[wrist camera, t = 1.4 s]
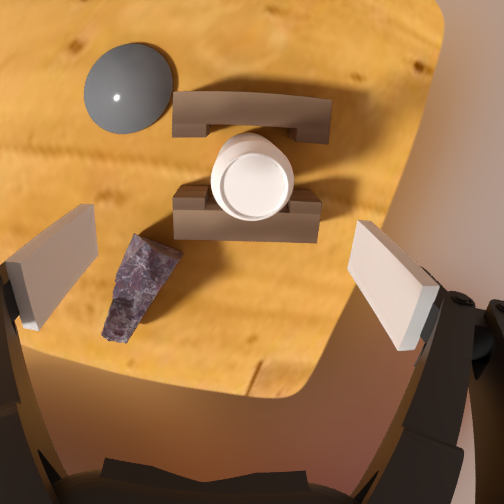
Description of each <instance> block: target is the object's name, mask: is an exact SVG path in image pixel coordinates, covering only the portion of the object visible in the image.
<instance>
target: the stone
mask: <svg viewBox="0 0 504 504" xmlns="http://www.w3.org/2000/svg"><path fill="white" fill-rule="evenodd" d="M182 255H183V253H182V252H181V251H179V250H175V249H173V248H170V247H168V246H165V245H162V244H161V243H159V242H156V241H152V240H150V239H147V238H143V237H140V236H138V235H137V234H135V233H134V235H133V237H132V240H131V242H130V244H129V246H128V248H127V250H126V253H125V255H124V258H123V260H122V263H121V265H120V267H119V269H118V272H117V275H116V279H115V282H116V285H115V287H114V290H113V301H112V303H111V306H110V308H109V312H108V316H107V318H106V321H105V323H104V328H103V331H102V334H101V335H102V336H103V337H104V338H106V339H107V340H108V341H116V342H119V343H122V342H124V343H125V344H126V343H127V342H128V340H129V338H130V337H131V336H132V334H133V333H134V331H135V329H136V328H137V326H138V324H139V322H140V321H141V319H142V317H143V316H144V314H145V312H146V310H147V309H148V307H149V306H150V304H151V303H152V301H153V300H154V298H155V297H156V295H157V293H158V292H159V290H160V289H161V287H162V286H163V285H164V284H165V282H166V281H167V279H168V277H169V276H170V274H171V272H172V271H173V269H174V268H175V266H176V265H177V263H178V262H179V260H180V259H181V257H182Z"/></svg>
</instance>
